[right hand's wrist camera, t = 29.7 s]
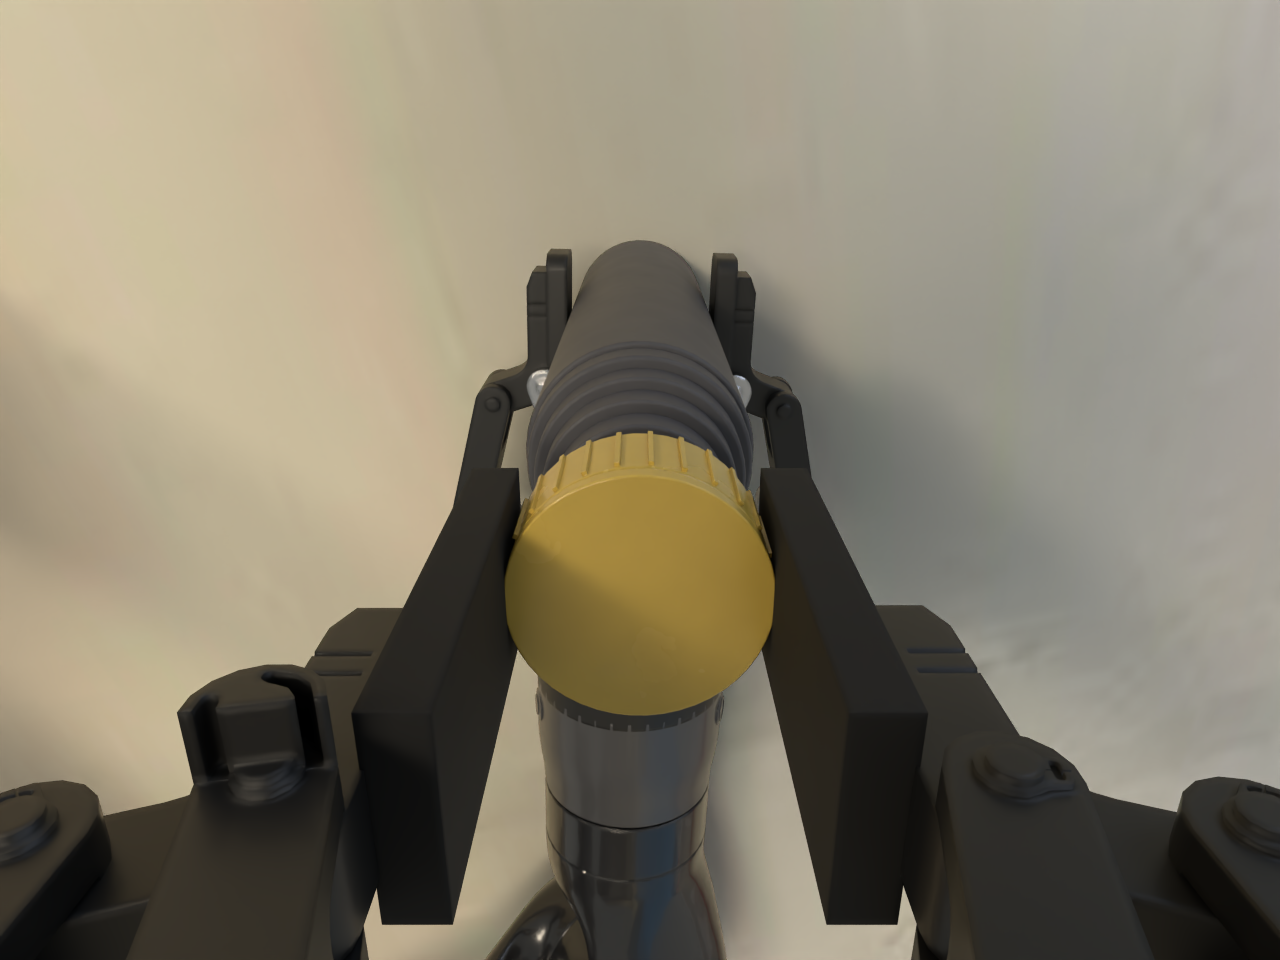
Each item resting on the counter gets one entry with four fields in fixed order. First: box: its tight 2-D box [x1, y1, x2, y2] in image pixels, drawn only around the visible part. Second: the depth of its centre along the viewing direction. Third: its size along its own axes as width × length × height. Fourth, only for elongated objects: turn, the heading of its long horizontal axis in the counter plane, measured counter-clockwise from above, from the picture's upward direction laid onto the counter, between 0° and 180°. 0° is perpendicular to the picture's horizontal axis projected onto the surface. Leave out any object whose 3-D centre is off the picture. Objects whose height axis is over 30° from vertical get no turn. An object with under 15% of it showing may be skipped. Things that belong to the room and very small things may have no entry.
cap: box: [504, 431, 775, 715], centre depth 14 cm, size 4×4×2 cm
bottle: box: [526, 240, 753, 491], centre depth 25 cm, size 5×5×24 cm
